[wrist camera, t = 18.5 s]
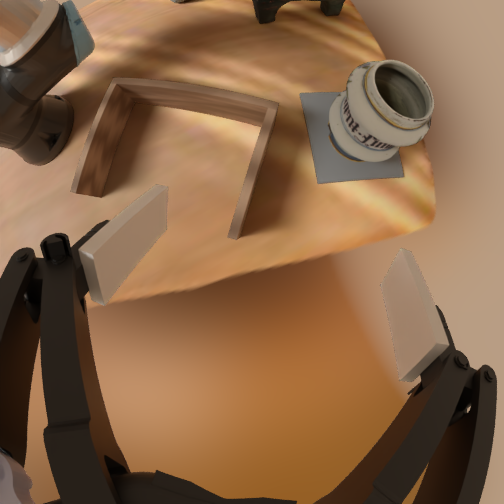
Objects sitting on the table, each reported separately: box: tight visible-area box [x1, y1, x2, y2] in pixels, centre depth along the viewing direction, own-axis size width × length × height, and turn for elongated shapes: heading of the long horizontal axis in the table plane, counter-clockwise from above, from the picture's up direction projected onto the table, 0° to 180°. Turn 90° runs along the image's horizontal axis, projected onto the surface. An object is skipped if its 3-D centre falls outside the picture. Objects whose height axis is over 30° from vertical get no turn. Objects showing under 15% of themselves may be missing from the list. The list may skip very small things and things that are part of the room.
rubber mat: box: [299, 92, 404, 184], centre depth 40 cm, size 16×16×1 cm
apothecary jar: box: [328, 60, 434, 162], centre depth 31 cm, size 12×12×18 cm
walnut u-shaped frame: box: [70, 77, 279, 240], centre depth 37 cm, size 19×26×8 cm
